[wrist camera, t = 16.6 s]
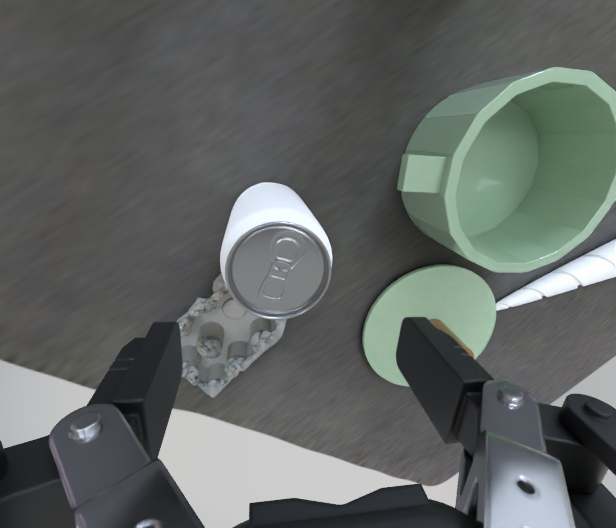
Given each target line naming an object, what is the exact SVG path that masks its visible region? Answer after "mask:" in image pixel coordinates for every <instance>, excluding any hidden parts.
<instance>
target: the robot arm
mask: <svg viewBox="0 0 616 528" xmlns="http://www.w3.org/2000/svg"><path fill="white" fill-rule="evenodd" d="M396 362H397V366H398V368H399V370H400V372H401V373H402V375H403V377H404V378H405V380H406V381H407V383H408V385H409V386H410V388H411V389H412V391H413V393H414V394H415V396H416V397H417V399H418V401H419V402H420V404H421V405H422V407H423V409H424V410H425V412H426V414H427V415H428V417H429V418H430V420H431V422H432V423H433V425H434V426H435V428H436V430H437V431H438V433H439V434H440V436H441V438H442V439H443V441H444V442H445V444H448V443H459V442H461V444H462V445H463V451H462V454H461V461H460V470H459V479H458V489H457V498H456V506H455V508H454V507H451V506H449V505H446V504H444V503H441V502H438V501H434V500H430V499H428V498H427V495H426V494H425V491H424V489H423V487H422V485H421V484H413V485H405V486H395V487H387V488H380V489H378V490H376V491H374V492H372V493H369V494H367V495H365V496H362V497H360V498H358V499H355V500H353V501H351V502H349V503H347V504H343V505H336V504H330V503H323V502H317V501H310V500H304V499H298V498H291V499H282V500H274V501H264V502H256V503H250V505H249V506H250V507H249V510H250V511H249V520H247V521H245V522H243V523H240V524H238V525H237V526H235V527H233V528H616V498H615V497H614V496H613V495H612V494H611V493H610V491H608V489H607V488H606V487H605V486H604V485H603V484H602V483H601V482H602V480H603V478H604V476H605V475H606V473H607V471H608V469H610V470H611V471H612V472H613V473H614V474H615V475H616V409H615V408H613V407H612V406H610V405H609V404H607V403H605V402H603V401H601V400H598V399H596V398H593V397H590V396H587V395H583V394H571V395H568V396H567V397H566V399H565V401H564V404H563V406H562V407H557V406H552V405H546V404H541V403H537V401H536V400H535V399H534V397H533V396H531V395H530V394H529V393H528V392H527V391H525V390H524V389H522V388H520V387H519V386H517V385H514V384H512V383H509V382H506V381H501V380H494V379H493V378H492V377H491V376H490V375H489V374H488V373H487V372H486V371H485V370H484V369H483V368H482V367H481V366H480V365H479V364H478V363H477V362H476V360H475V359H474V358H473V357H472V356H469V353H468V352H467V351H466V350H465V349H464V348H461V345H460V344H459V343H458V342H457V341H456V340H455V339H454V338H453V337H451V336H450V335H448V334H446V333H445V332H443V331H441V330H440V329H437V328H436V327H435V326H434V325H433V324H432V323H431V322H430V321H429V320H428V319H427V318H426V317H405V318H404V319H403V320H402V324H401V329H400V334H399V339H398V344H397V349H396ZM182 367H183V360H182V348H181V337H180V326H179V323H178V322H154V323H153V324H152V326H151V328H150V330H149V332H148V333H147V335H146V337H145V338H135V339H133V340H132V341H131V342H129V343H128V344H127V345H126V346H124V347H123V348H122V349H121V351H120V353H119V354H118V356H117V358H116V359H115V361H114V362H113V364H112V366H111V367H110V370H109V371H108V372H107V374H106V375H105V377H104V379H103V380H102V382H101V383H100V385H99V387H98V388H97V390H96V391H95V393H94V395H93V396H92V398H91V400H90V401H89V403H88V404H87V406H85V407H82V408H80V409H78V410H76V411H74V412H72V413H70V414H68V415H67V416H66V417H64V418H63V419H62V420H61V421H59V422H58V423H57V424H56V426H55V427H54V428H53V430H52V431H51V433H50V435H48V436H45V437H42V438H39V439H36V440H32V441H29V442H25V443H22V444H18V445H15V446H12V447H8V448H5V449H3V446H2V443H1V441H0V528H205V527H204V526H203V524H202V522H201V521H200V519H199V518H198V516H197V515H196V513H195V512H194V510H193V509H192V507H191V506H190V504H189V502H188V501H187V500H186V498H185V496H184V495H183V493H182V492H181V490H180V489H179V487H178V486H177V484H176V482H175V481H174V480H173V478H172V477H171V475H170V473H169V472H168V470H167V469H166V467H165V466H164V464H163V463H162V461H161V460H159V459H158V454H159V451H160V448H161V444H162V441H163V437H164V434H165V430H166V427H167V424H168V421H169V417H170V414H171V411H172V407H173V404H174V401H175V397H176V394H177V391H178V387H179V384H180V381H181V376H182Z"/></svg>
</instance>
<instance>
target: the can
mask: <svg viewBox="0 0 616 528" xmlns="http://www.w3.org/2000/svg"><path fill="white" fill-rule="evenodd" d="M220 267H221V273H222V276H223V279H224V282H225V284H226V285H227V287H228V290H229V292H230V294H231V296H232V297H233V299H234V300H235V301H236V302H237V304H238V305H239V306H240V307H242V308H243V309H244V310H246V311H247V312H249V313H251V314H252V315H255V316H257V317H260V318H264V319H270V320H283V319H289V318H293V317H296V316H299V315H301V314H303V313H305V312H307V311H308V310H310V309H311V308H312V307H314V306H315V305H316V304H317V303H318V302H319V301H320V299H321V298H322V297H323V295H324V294H325V292H326V290H327V288H328V285H329V282H330V278H331V267H332V251H331V246H330V243H329V240H328V238H327V236H326V234H325V232H324V230H323V229H322V227H321V226H320V224H319V223H318V221H317V220H316V218H315V217H314V216H313V214H312V213H311V211H310V210H309V209H308V207H307V206H306V205H305V203H304V202H303V201H302V199H301V198H300V197H299V196H298V195H297V194H296V193H295V192H294V191H293V190H292V189H291V188H289V187H287V186H285V185H282V184H278V183H270V182H266V183H259V184H256V185H254V186H251V187H250V188H248V189H247V190H245V191H244V192H243V193H242V194H241V195H240V196H239V197H238V199H237V200H236V202H235V204H234V206H233V209H232V212H231V215H230V219H229V222H228V225H227V229H226V232H225V236H224V239H223V243H222V248H221V253H220Z"/></svg>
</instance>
